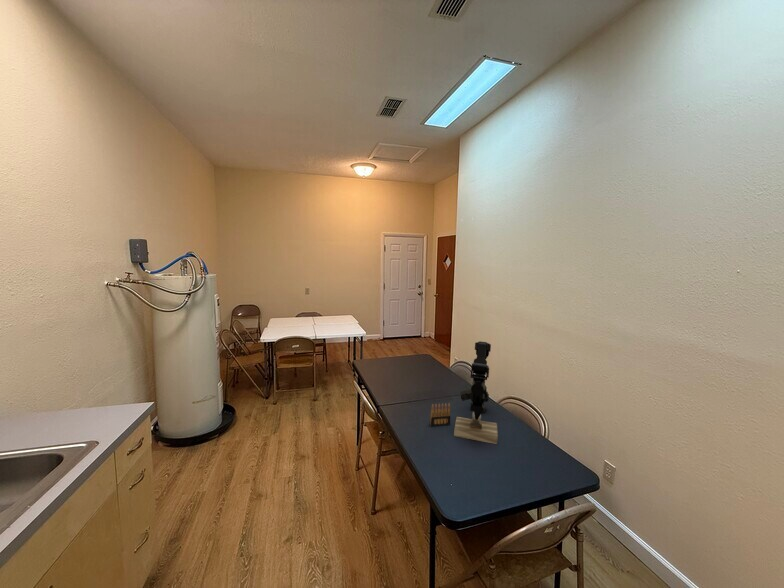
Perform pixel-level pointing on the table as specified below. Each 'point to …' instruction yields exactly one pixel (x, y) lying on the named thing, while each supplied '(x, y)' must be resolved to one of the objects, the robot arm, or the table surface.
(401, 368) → the table surface
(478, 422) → the metal peg
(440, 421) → the ammunition clip
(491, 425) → the hole block
